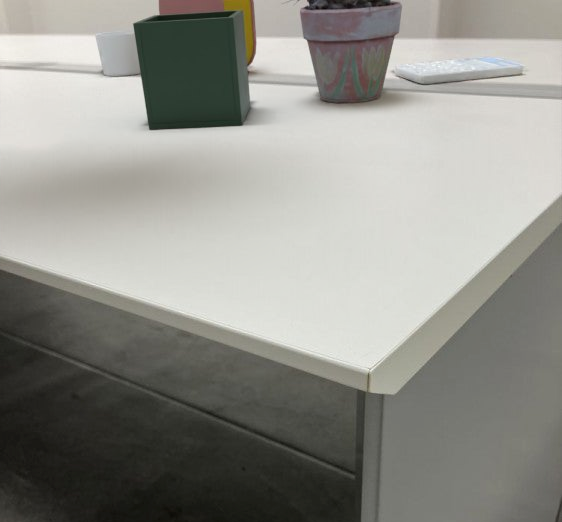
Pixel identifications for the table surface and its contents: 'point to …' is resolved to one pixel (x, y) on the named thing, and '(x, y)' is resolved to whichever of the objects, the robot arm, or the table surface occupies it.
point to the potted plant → (350, 46)
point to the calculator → (458, 70)
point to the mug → (118, 53)
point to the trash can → (194, 69)
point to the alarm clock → (180, 3)
